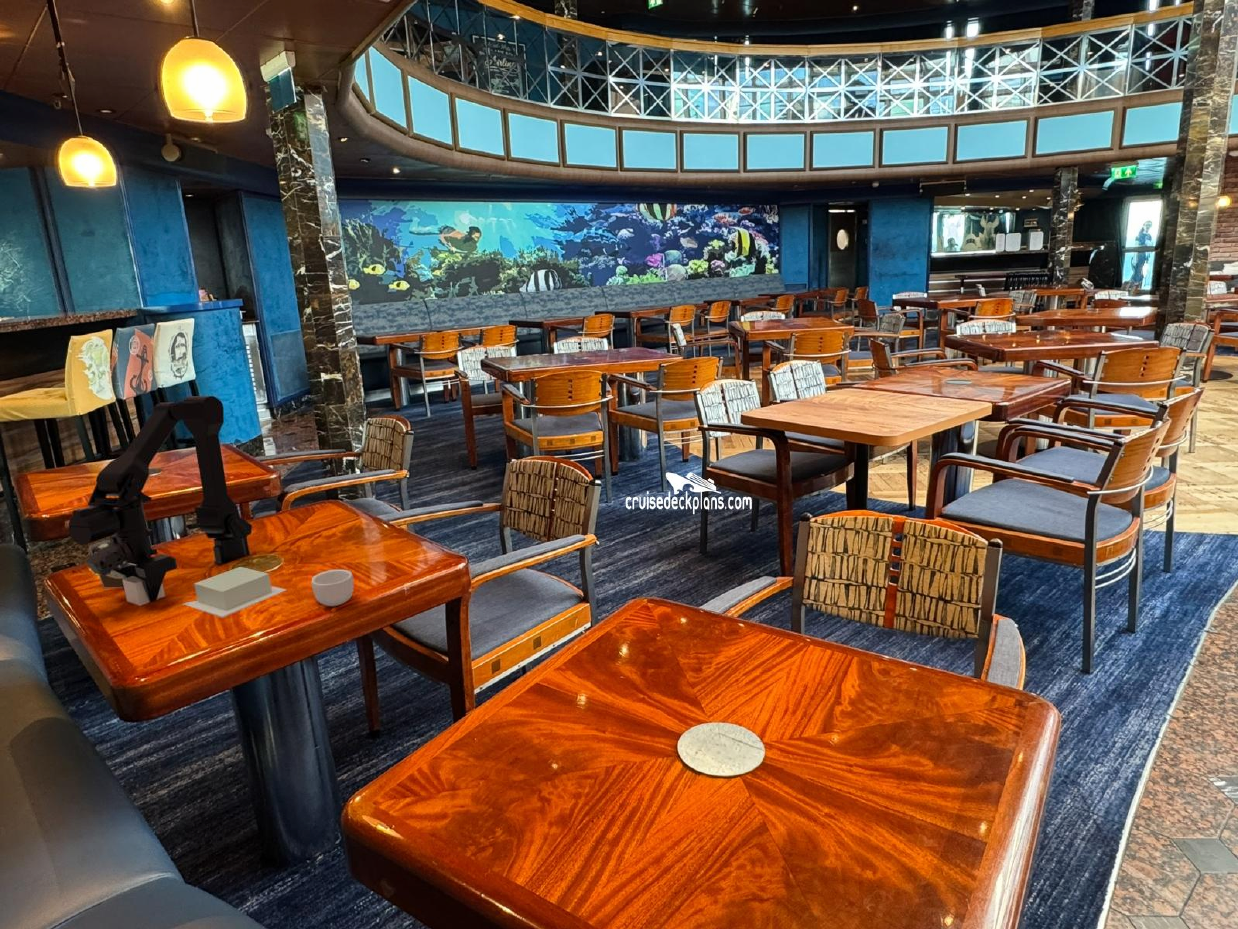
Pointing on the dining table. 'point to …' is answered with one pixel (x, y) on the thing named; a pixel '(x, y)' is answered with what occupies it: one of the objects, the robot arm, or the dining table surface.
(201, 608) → the base plate
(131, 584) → the pink brick
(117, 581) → the food container
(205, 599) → the base brick
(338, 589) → the teacup
